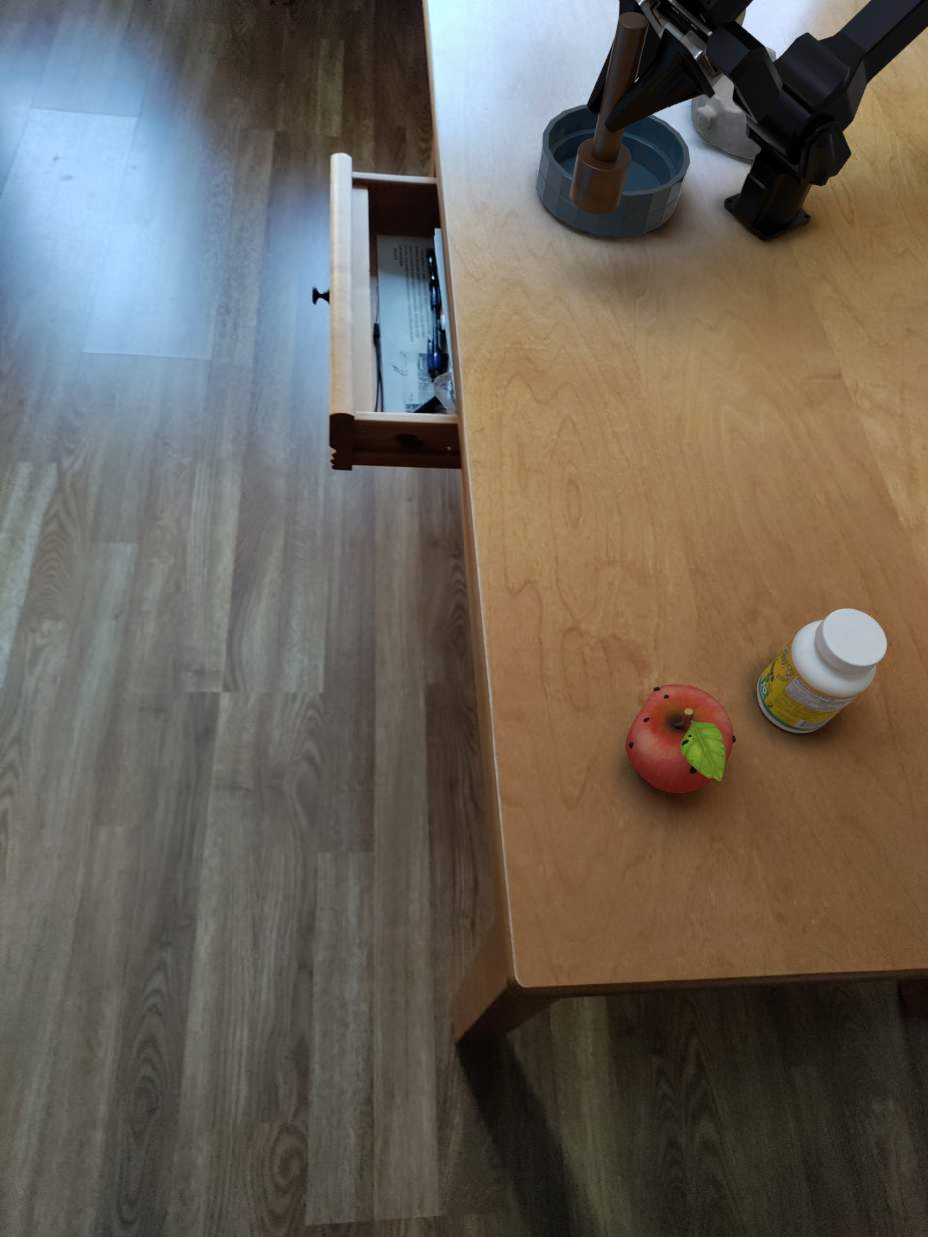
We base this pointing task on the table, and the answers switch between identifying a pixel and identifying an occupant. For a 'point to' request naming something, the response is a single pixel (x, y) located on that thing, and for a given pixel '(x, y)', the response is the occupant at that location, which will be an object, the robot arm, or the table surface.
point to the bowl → (647, 184)
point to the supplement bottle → (821, 670)
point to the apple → (680, 739)
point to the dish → (724, 119)
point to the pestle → (604, 154)
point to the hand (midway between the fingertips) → (598, 119)
